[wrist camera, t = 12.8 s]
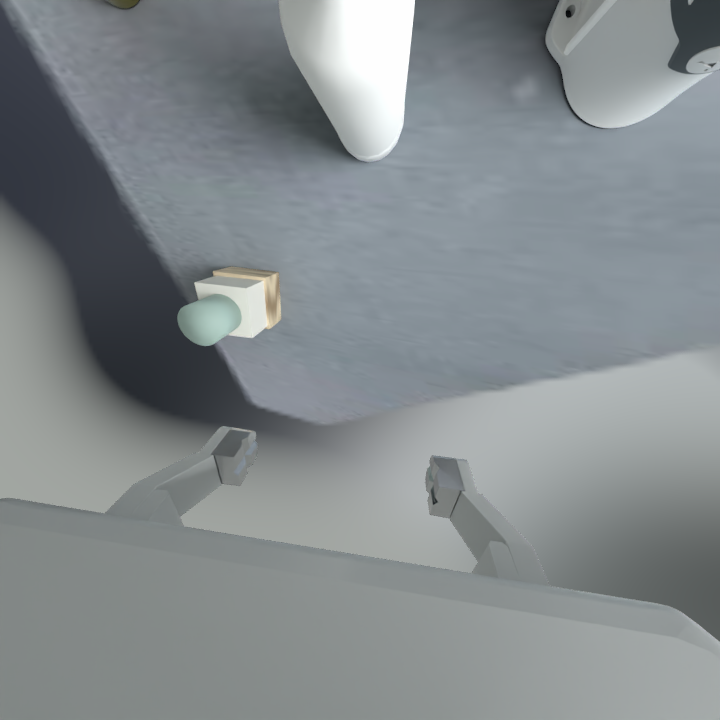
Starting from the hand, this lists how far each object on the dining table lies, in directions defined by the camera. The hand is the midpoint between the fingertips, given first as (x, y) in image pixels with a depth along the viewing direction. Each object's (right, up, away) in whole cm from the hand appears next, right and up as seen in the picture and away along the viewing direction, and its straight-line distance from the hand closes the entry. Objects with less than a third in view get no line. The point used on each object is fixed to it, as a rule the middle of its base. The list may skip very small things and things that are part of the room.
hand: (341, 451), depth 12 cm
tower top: (-17, +13, +27) cm, 35 cm away
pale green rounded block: (-18, +11, +23) cm, 31 cm away
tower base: (-17, +15, +32) cm, 39 cm away
